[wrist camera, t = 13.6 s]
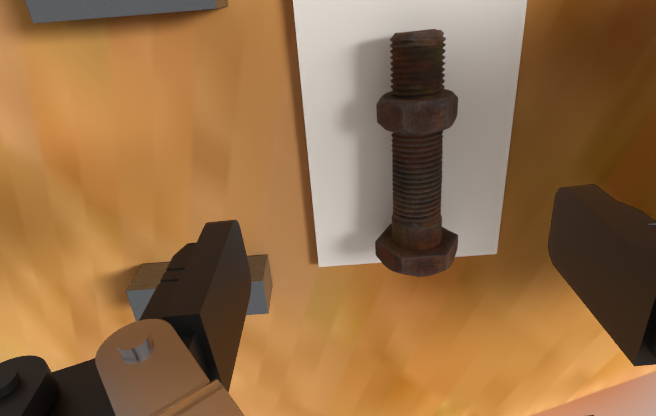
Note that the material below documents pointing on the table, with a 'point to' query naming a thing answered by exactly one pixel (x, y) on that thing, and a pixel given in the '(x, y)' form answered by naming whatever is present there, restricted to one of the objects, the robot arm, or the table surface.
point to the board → (375, 142)
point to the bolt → (417, 155)
